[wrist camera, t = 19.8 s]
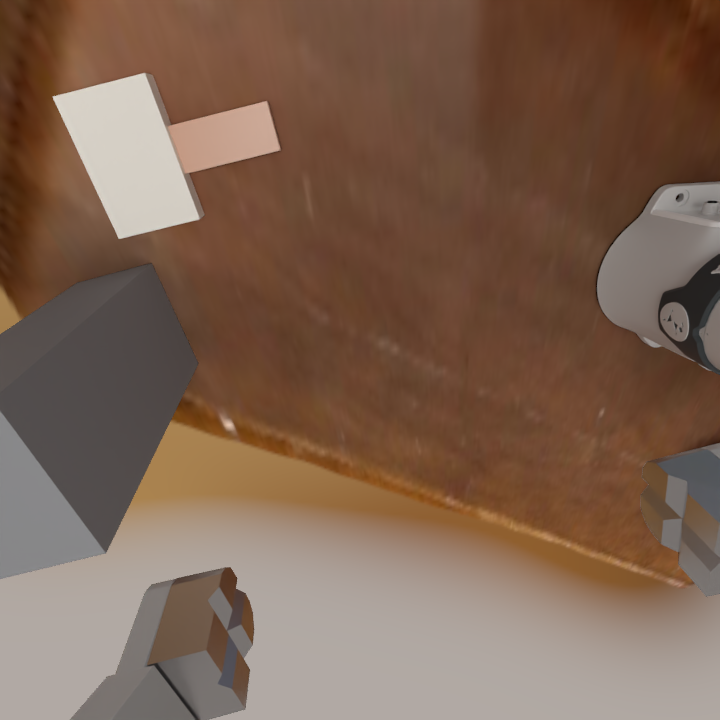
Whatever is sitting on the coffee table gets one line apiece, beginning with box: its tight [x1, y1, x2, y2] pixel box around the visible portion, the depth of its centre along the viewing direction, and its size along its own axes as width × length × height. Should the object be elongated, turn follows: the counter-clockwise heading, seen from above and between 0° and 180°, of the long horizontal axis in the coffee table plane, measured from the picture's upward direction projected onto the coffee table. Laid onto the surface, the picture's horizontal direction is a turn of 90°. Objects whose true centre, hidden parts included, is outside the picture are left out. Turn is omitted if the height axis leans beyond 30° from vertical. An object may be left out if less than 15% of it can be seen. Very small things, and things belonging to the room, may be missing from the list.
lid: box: [53, 73, 281, 239], centre depth 41 cm, size 17×12×2 cm
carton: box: [0, 263, 198, 579], centre depth 38 cm, size 8×12×26 cm, turn 13°
